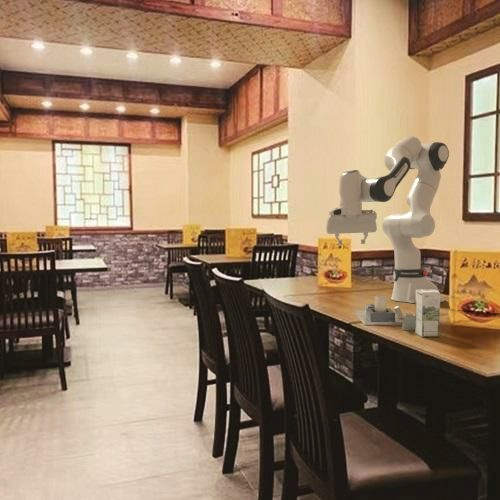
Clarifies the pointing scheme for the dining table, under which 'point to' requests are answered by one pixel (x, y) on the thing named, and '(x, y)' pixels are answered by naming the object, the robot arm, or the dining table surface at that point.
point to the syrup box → (427, 313)
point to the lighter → (406, 319)
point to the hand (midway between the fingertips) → (351, 244)
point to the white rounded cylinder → (380, 304)
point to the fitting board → (377, 316)
